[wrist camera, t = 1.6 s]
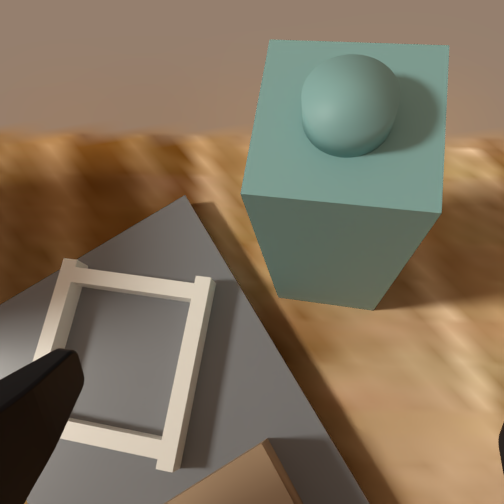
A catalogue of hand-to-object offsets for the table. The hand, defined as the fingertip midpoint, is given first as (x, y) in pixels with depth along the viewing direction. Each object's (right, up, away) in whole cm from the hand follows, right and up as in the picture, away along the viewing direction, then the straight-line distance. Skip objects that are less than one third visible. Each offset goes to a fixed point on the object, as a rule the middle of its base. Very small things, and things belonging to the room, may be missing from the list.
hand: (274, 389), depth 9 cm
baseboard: (-5, -6, +13) cm, 15 cm away
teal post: (+4, +2, +15) cm, 16 cm away
